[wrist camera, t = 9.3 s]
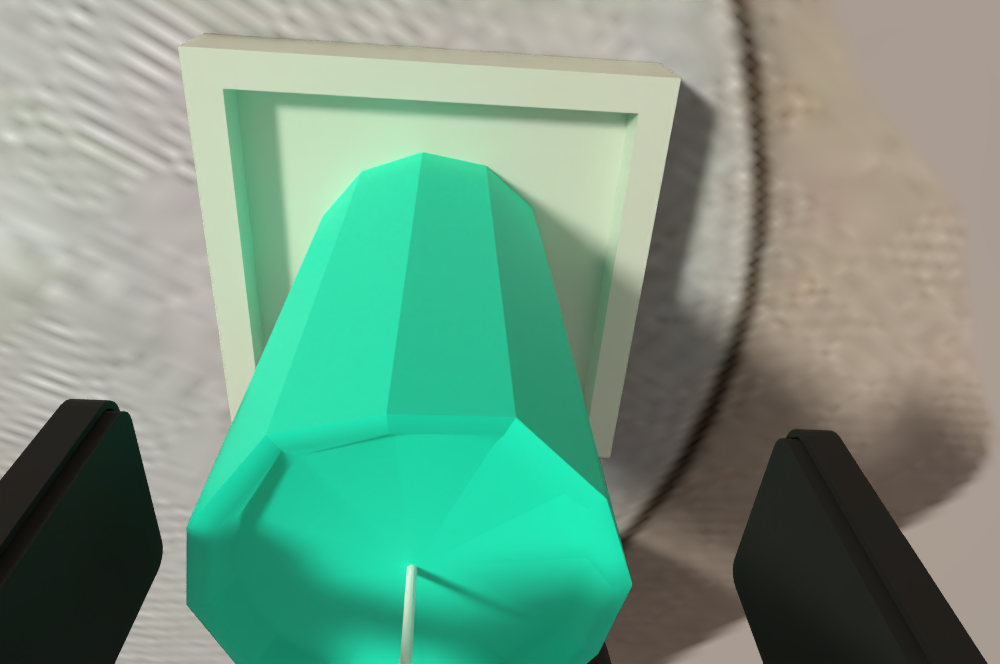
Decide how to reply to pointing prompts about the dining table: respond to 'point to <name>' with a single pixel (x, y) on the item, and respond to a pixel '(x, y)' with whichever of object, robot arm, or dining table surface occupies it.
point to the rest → (436, 130)
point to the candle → (412, 448)
